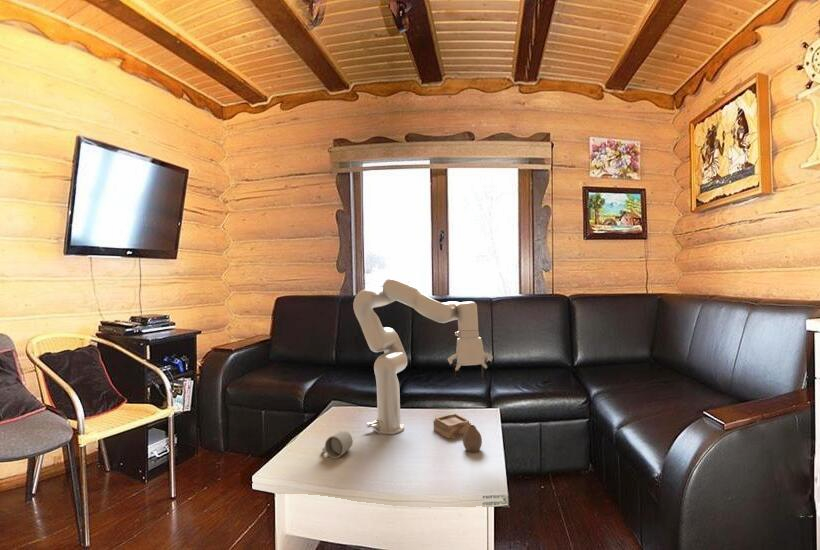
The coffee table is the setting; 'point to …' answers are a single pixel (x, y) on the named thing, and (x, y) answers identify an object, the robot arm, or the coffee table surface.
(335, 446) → the ceramic mug
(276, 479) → the coffee table surface
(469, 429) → the vase
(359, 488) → the coffee table surface
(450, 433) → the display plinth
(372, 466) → the coffee table surface
